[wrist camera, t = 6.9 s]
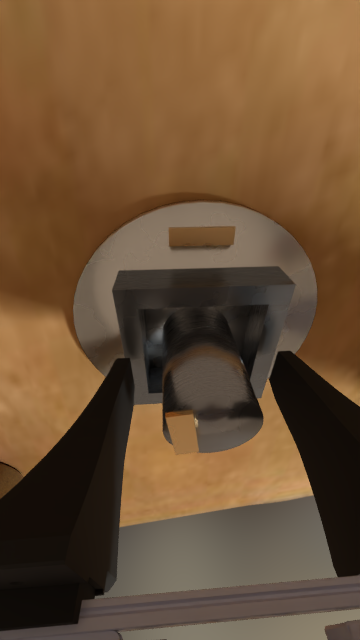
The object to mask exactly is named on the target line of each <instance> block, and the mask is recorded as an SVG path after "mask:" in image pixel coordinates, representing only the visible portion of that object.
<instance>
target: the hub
mask: <svg viewBox="0 0 360 640" xmlns="http://www.w3.org/2000/svg"><path fill="white" fill-rule="evenodd" d="M316 306H317V284H316V278H315V273H314V271H313V268H312V265H311V262H310V260H309V258H308V256H307V255H306V253H305V251H304V250H303V248H302V246H301V245H300V244H299V243H298V242H297V241H296V239H295V238H294V237H293V236H292V235H291V234H290V233H289V232H288V231H286V230H285V229H284V228H283V227H281V226H280V225H279V224H278V223H276V222H275V221H273V220H272V219H270V218H268V217H266V216H265V215H263V214H261V213H259V212H258V211H255V210H252V209H250V208H247V207H244V206H242V205H238V204H233V203H228V202H224V201H213V200H193V201H182V202H177V203H172V204H168V205H164V206H160V207H157V208H155V209H152V210H150V211H147V212H145V213H142V214H140V215H139V216H137V217H135V218H133V219H131V220H130V221H128V222H126V223H125V224H123V225H122V226H121V227H119V228H118V229H117V230H116V231H114V232H113V233H112V234H110V235H109V236H108V238H107V239H106V240H105V241H104V242H103V243H102V244H101V245H100V246H99V247H98V248H97V250H96V251H95V253H94V254H93V256H92V257H91V259H90V260H89V261H88V263H87V265H86V266H85V268H84V270H83V273H82V275H81V277H80V279H79V281H78V285H77V288H76V292H75V296H74V306H73V315H74V325H75V329H76V333H77V337H78V339H79V342H80V344H81V347H82V349H83V350H84V352H85V354H86V355H87V357H88V358H89V360H90V361H91V362H92V363H93V365H94V366H95V367H96V368H97V369H98V370H99V371H100V372H101V373H102V374H103V375H104V376H105V377H106V376H107V374H108V373H109V371H110V369H111V367H112V365H113V363H114V361H115V360H116V359H117V358H130V361H131V367H132V373H133V378H134V384H135V391H134V405H138V404H157V403H163V383H162V330H163V326H164V324H165V322H166V320H167V319H168V318H169V317H170V316H171V315H172V314H173V313H174V312H176V311H178V310H179V309H182V308H184V307H212V308H215V309H216V310H218V311H220V312H221V313H222V314H223V315H224V316H225V318H226V319H227V322H228V324H229V327H230V329H231V332H232V335H233V337H234V340H235V343H236V345H237V348H238V350H239V353H240V356H241V358H242V361H243V364H244V366H245V369H246V371H247V374H248V377H249V379H250V382H251V385H252V387H253V390H254V393H255V395H256V398H261V396H262V393H263V390H264V387H265V383H266V380H267V379H268V378H269V377H270V375H271V372H272V369H273V365H274V362H275V359H276V356H277V353H278V351H291V352H292V353H294V354H295V353H296V352H297V351H298V350H299V348H300V347H301V345H302V343H303V342H304V340H305V339H306V337H307V335H308V332H309V330H310V328H311V326H312V323H313V319H314V316H315V312H316Z"/></svg>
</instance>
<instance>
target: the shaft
mask: <svg viewBox="0 0 360 640" xmlns="http://www.w3.org/2000/svg"><path fill="white" fill-rule="evenodd" d="M162 383H163V434H164V437H165V438H166V440H167V441H168V442H169V443H170V444H172V445H173V447H174V451H175V454H176V455H180V454H188V453H196V452H197V453H211V452H219V451H224V450H228V449H231V448H234V447H237V446H239V445H241V444H243V443H245V442H247V441H249V440H250V439H251V438H253V437H254V436H255V435H256V434H257V433H258V432H259V430H260V429H261V427H262V425H263V414H262V411H261V408H260V406H259V403H258V400H257V398H256V395H255V393H254V390H253V387H252V385H251V382H250V379H249V377H248V374H247V371H246V369H245V366H244V364H243V361H242V358H241V356H240V353H239V350H238V348H237V345H236V343H235V340H234V337H233V335H232V332H231V329H230V327H229V324H228V322H227V319H226V318H225V316H224V315H223V314H222V313H221V312H220V311H218V310H216V309H215V308H212V307H184V308H182V309H179V310H178V311H176V312H174V313H173V314H172V315H171V316H170V317H169V318H168V319H167V320H166V322H165V324H164V326H163V330H162Z"/></svg>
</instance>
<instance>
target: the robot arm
mask: <svg viewBox="0 0 360 640" xmlns="http://www.w3.org/2000/svg"><path fill="white" fill-rule="evenodd" d="M269 381H270V384H271V387H272V391H273V394H274V397H275V399H276V402H277V404H278V406H279V408H280V411H281V413H282V415H283V417H284V419H285V421H286V424H287V426H288V428H289V430H290V432H291V434H292V436H293V439H294V441H295V443H296V445H297V448H298V450H299V453H300V455H301V458H302V461H303V464H304V467H305V470H306V472H307V475H308V479H309V482H310V485H311V488H312V491H313V494H314V497H315V500H316V503H317V507H318V510H319V513H320V517H321V521H322V524H323V528H324V531H325V535H326V539H327V543H328V546H329V550H330V554H331V558H332V562H333V566H334V569H335V571H336V574H337V576H338V577H336V578H326V579H315V580H303V581H292V582H280V583H269V584H258V585H248V586H236V587H224V588H213V589H202V590H191V591H180V592H168V593H159V594H158V593H157V594H146V595H135V596H125V597H112V598H102V599H94V598H95V596H98V595H104V592H108V591H109V590H110V588H111V587H112V586H113V585H114V583H115V581H116V577H117V556H118V538H119V536H118V535H119V522H120V507H121V494H122V481H123V469H124V460H125V452H126V447H127V441H128V435H129V430H130V424H131V418H132V412H133V406H134V391H135V384H134V378H133V373H132V367H131V361H130V358H117V359H116V360H115V361H114V363H113V365H112V367H111V369H110V371H109V373H108V374H107V376H106V378H105V379H104V381H103V383H102V384H101V386H100V387H99V389H98V391H97V392H96V394H95V395H94V397H93V398H92V400H91V401H90V402H89V404H88V405H87V407H86V408H85V409H84V411H83V412H82V414H81V415H80V416H79V418H78V419H77V420H76V421H75V423H74V424H73V425H72V426H71V428H70V429H69V430H68V431H67V432H66V434H65V435H64V436H63V437H62V438H61V439H60V440H59V442H58V443H57V444H56V445H55V446H54V447H53V448H52V449H51V450H50V452H49V453H48V454H47V455H46V456H45V457H44V458H43V459H42V460H41V461H40V462H39V463H38V464H37V465H36V466H35V467H34V468H33V469H32V470H31V471H30V472H29V473H28V474H27V475H26V476H25V477H24V478H23V479H22V480H21V481H20V482H18V483H17V484H16V485H15V486H14V487H13V488H12V489H11V490H10V491H9V492H7V493H6V494H5V495H4V496H3V497H2V498H1V499H0V640H123V639H122V636H121V634H120V633H118V632H122V631H132V630H143V629H154V628H163V627H174V626H183V625H184V626H185V625H195V624H206V623H216V622H226V621H237V620H248V619H258V618H268V617H278V616H288V615H299V614H309V613H321V612H331V611H341V610H351V609H360V407H359V406H358V405H357V404H355V403H354V402H352V401H351V400H350V399H348V398H347V397H346V396H344V395H343V394H342V393H340V392H339V391H338V390H337V389H335V388H334V387H333V386H332V385H330V384H329V383H328V382H327V381H325V380H324V379H323V378H322V377H321V376H319V375H318V374H317V373H316V372H315V371H314V370H312V369H311V368H310V367H309V366H308V365H307V364H305V363H304V362H303V361H302V360H301V359H300V358H298V357H297V356H296V355H295V354H294V353H292V352H291V351H278V353H277V356H276V359H275V362H274V365H273V369H272V372H271V375H270V378H269ZM325 633H326V635H327V639H328V640H360V620H353V621H347V622H345V623H340V624H335V625H330V626H326V627H325ZM162 640H166V639H162Z"/></svg>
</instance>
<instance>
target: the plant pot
mask: <svg viewBox="0 0 360 640" xmlns="http://www.w3.org/2000/svg"><path fill="white" fill-rule="evenodd" d="M22 479H23V476H22V475H21V474H20V473H19V472H18V471H17V470H15V469H13V468H11V467H9V466H7V465H4V464H1V463H0V499H1V498H2V497H3V496H4V495H5V494H6V493H7V492H9V491H10V490H11V489H12V488H13V487H14V486H15V485H16V484H17V483H18V482H20V481H21V480H22Z"/></svg>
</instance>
